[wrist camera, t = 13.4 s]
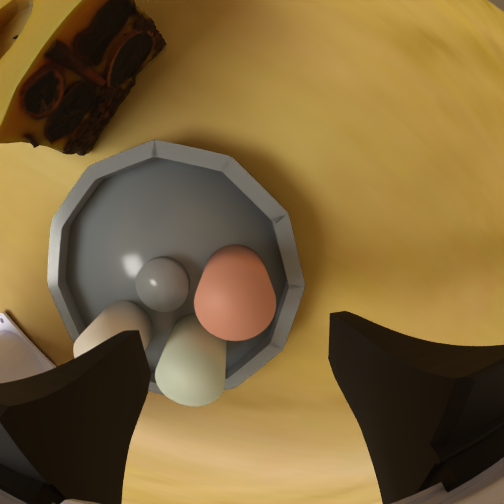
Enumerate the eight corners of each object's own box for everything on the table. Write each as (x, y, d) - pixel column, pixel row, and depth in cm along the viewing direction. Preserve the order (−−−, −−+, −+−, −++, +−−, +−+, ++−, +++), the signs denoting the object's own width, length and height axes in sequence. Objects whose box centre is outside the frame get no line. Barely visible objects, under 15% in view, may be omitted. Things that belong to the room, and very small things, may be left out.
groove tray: (185, 409, 23) (182, 426, 20) (33, 274, 19) (18, 282, 17) (342, 274, 20) (353, 284, 18) (165, 97, 17) (157, 88, 15)
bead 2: (278, 280, 19) (291, 311, 14) (229, 314, 20) (228, 353, 15) (241, 231, 18) (243, 248, 14) (191, 268, 19) (177, 297, 14)
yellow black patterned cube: (169, 44, 16) (128, -40, 6) (89, 160, 18) (-7, 151, 8) (82, 10, 14) (25, -46, 5) (16, 109, 16) (-66, 91, 6)
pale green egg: (201, 370, 21) (194, 415, 16) (160, 337, 20) (141, 378, 15) (238, 338, 20) (239, 382, 15) (195, 302, 19) (184, 339, 14)
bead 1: (102, 340, 20) (75, 376, 15) (104, 293, 19) (71, 323, 14) (150, 354, 20) (132, 395, 15) (155, 308, 19) (134, 344, 14)
